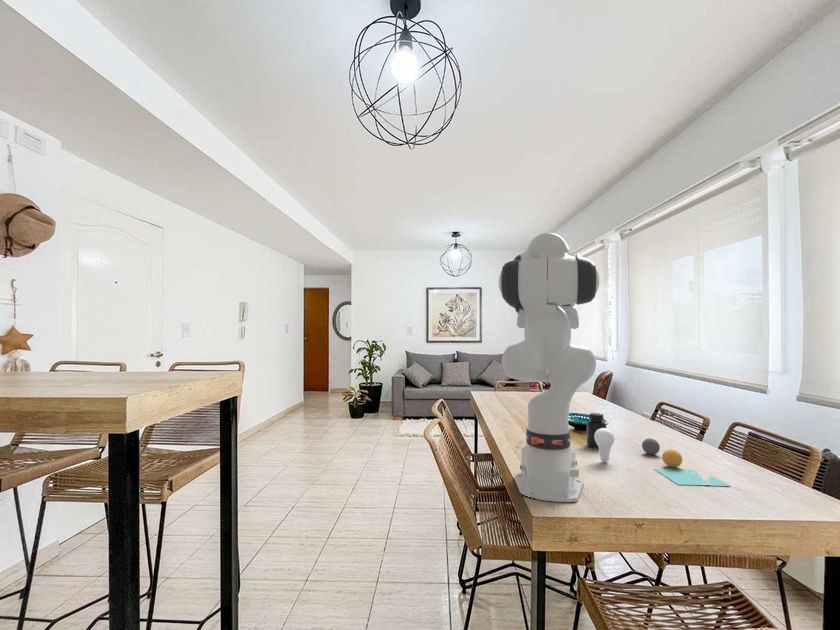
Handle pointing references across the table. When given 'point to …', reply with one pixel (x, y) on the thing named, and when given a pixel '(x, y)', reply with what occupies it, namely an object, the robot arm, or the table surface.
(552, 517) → the table surface
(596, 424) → the supplement bottle
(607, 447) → the lightbulb
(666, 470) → the teal mark
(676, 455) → the orange ball
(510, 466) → the table surface
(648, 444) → the charcoal ball
